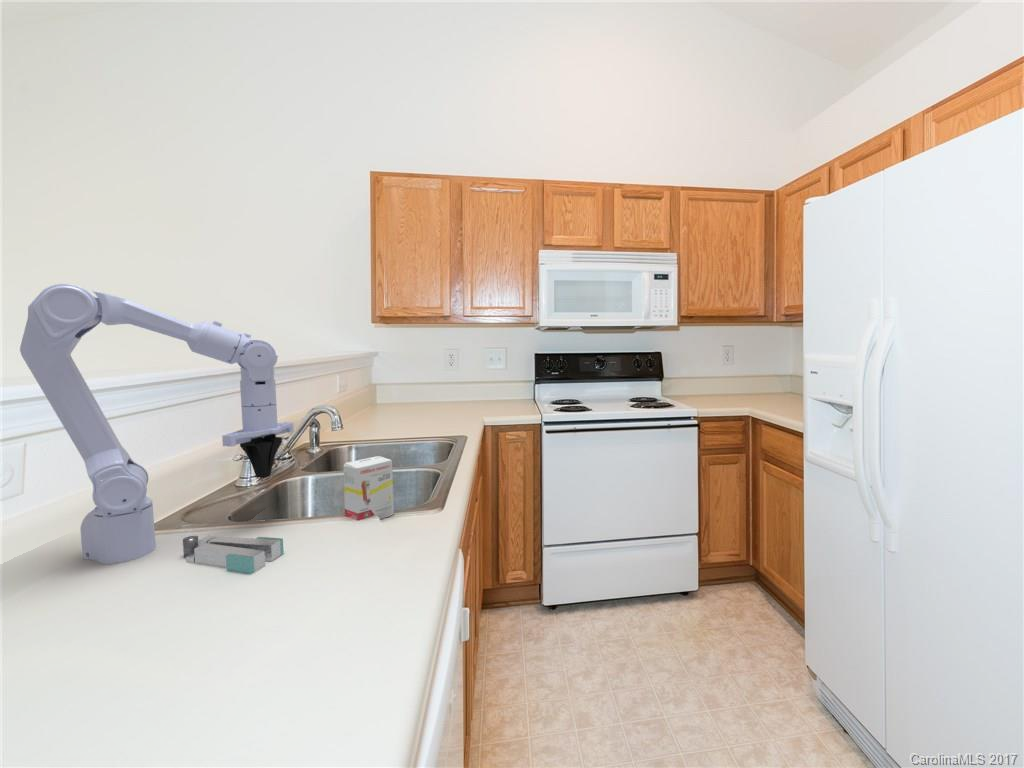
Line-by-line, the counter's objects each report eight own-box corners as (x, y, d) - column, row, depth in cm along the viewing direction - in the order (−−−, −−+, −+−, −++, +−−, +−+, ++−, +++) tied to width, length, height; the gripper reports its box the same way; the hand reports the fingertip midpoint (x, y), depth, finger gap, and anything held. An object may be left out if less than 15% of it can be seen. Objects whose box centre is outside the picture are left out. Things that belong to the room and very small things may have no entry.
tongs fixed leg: (170, 563, 70) (168, 544, 70) (192, 552, 73) (191, 535, 73) (250, 575, 66) (249, 555, 65) (270, 563, 69) (269, 544, 69)
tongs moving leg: (198, 555, 72) (197, 540, 72) (212, 548, 74) (211, 533, 74) (271, 561, 70) (271, 545, 69) (283, 553, 72) (282, 538, 72)
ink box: (358, 528, 86) (355, 467, 85) (344, 522, 89) (341, 463, 88) (395, 515, 92) (393, 458, 92) (381, 510, 96) (379, 455, 95)
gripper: (243, 410, 76) (248, 489, 77) (304, 400, 89) (308, 467, 90) (210, 409, 77) (215, 486, 78) (275, 400, 91) (279, 465, 92)
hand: (263, 476), depth 85 cm, fingers closed
